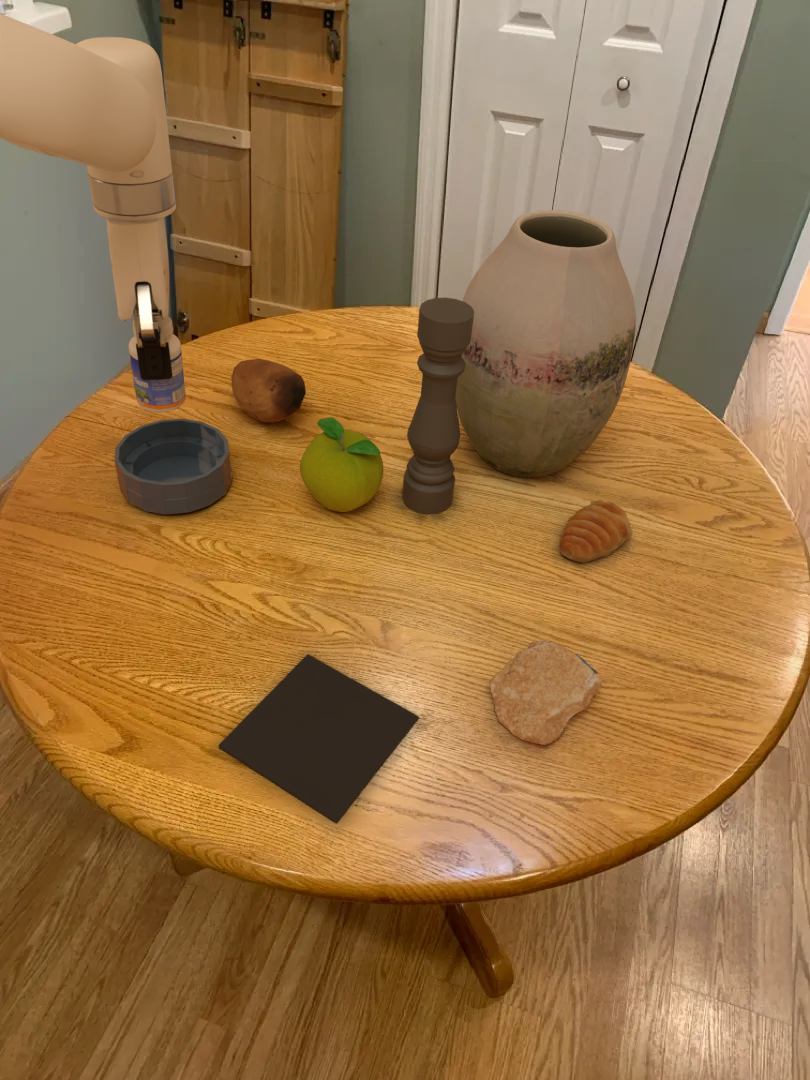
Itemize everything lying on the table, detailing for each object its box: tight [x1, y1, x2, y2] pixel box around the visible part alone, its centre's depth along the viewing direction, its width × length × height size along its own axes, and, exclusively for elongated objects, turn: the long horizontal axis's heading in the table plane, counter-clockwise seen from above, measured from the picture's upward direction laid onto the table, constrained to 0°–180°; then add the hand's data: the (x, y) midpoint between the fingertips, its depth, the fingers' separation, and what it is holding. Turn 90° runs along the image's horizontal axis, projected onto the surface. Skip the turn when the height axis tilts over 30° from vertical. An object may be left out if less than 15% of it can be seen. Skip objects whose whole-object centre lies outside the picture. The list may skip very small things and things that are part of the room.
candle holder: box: [401, 297, 474, 515], centre depth 95 cm, size 6×6×25 cm
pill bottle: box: [128, 313, 187, 413], centre depth 91 cm, size 5×5×10 cm
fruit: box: [299, 416, 384, 513], centre depth 99 cm, size 9×9×10 cm
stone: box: [489, 639, 603, 746], centre depth 80 cm, size 8×10×4 cm
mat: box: [218, 653, 419, 825], centre depth 77 cm, size 13×13×1 cm
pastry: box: [559, 499, 633, 563], centre depth 98 cm, size 9×7×4 cm
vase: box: [455, 209, 637, 479], centre depth 102 cm, size 21×21×30 cm
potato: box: [230, 358, 307, 423], centre depth 112 cm, size 8×13×8 cm
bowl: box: [114, 418, 233, 515], centre depth 101 cm, size 13×13×5 cm
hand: (156, 361), depth 91 cm, fingers closed on pill bottle, 5 cm apart
